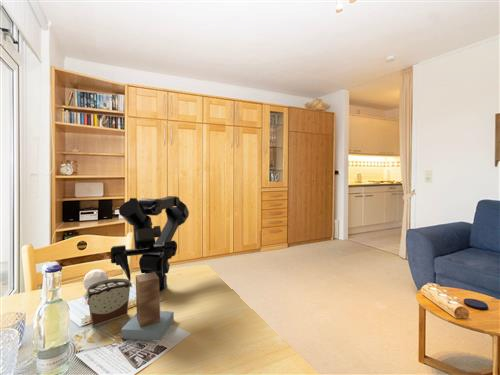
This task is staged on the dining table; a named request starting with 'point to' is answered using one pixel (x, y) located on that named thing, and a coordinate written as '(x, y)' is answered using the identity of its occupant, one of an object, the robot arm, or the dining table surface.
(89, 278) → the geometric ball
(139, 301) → the walnut block
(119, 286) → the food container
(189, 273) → the dining table surface
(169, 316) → the slate-blue block
